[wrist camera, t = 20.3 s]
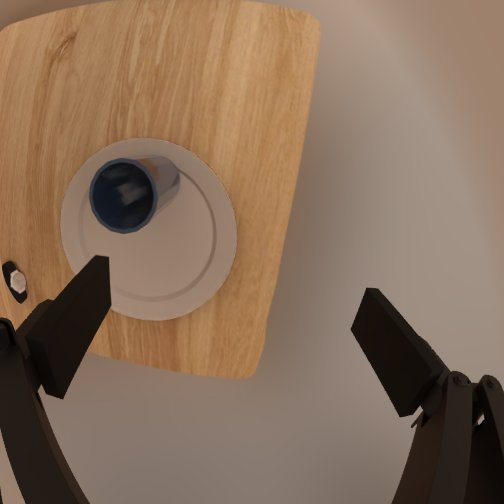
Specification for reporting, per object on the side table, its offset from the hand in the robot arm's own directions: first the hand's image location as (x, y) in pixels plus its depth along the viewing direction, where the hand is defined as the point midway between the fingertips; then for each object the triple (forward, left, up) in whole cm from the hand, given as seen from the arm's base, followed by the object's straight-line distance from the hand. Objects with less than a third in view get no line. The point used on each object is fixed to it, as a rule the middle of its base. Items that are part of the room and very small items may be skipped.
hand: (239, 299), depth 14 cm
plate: (+11, +7, -25) cm, 29 cm away
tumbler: (+11, -1, -23) cm, 25 cm away
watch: (+35, +21, -25) cm, 48 cm away
